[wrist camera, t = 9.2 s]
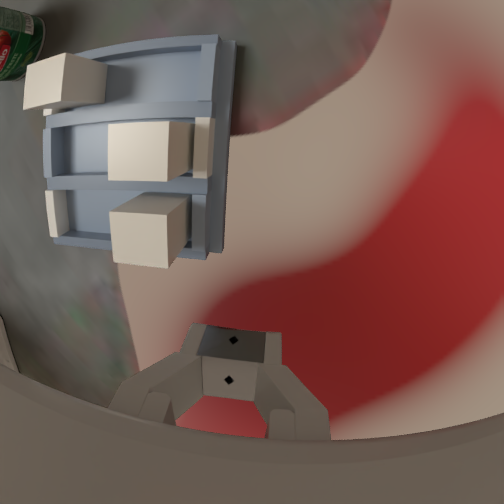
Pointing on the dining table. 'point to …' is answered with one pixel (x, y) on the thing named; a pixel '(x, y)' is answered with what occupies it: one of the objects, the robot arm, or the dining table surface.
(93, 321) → the dining table surface
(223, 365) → the robot arm
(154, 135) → the middle tab
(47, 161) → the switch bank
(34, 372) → the dining table surface
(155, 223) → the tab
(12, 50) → the canned tomato
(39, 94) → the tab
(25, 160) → the dining table surface
